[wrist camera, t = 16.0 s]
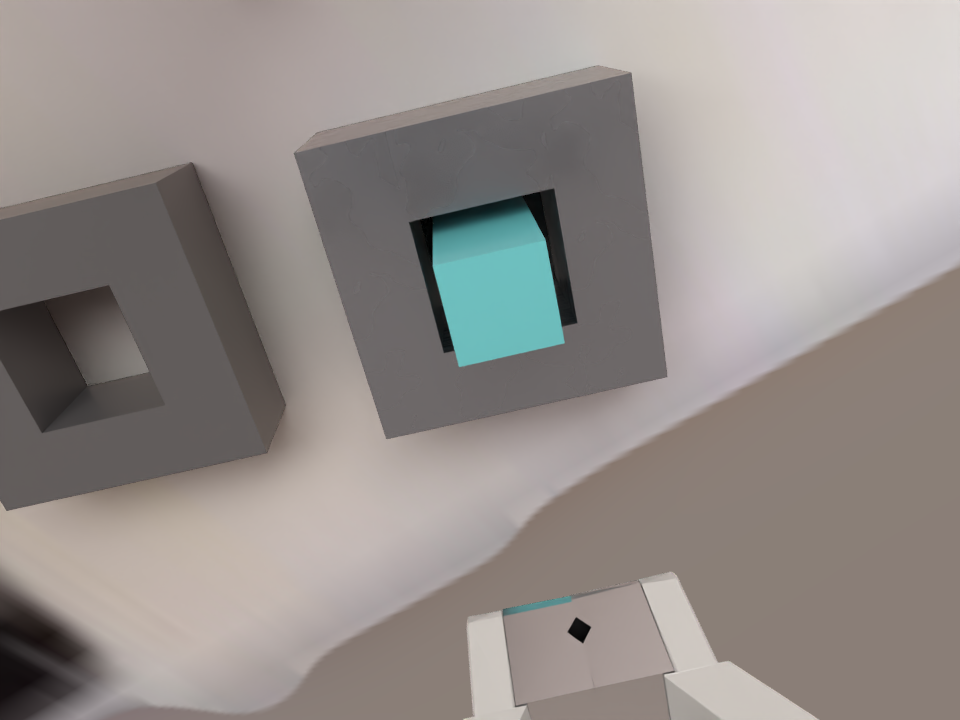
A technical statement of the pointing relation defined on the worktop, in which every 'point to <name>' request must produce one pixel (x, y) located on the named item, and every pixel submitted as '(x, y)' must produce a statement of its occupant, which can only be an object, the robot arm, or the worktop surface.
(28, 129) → the worktop surface
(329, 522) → the worktop surface
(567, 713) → the robot arm
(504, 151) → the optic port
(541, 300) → the plug
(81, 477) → the holster
